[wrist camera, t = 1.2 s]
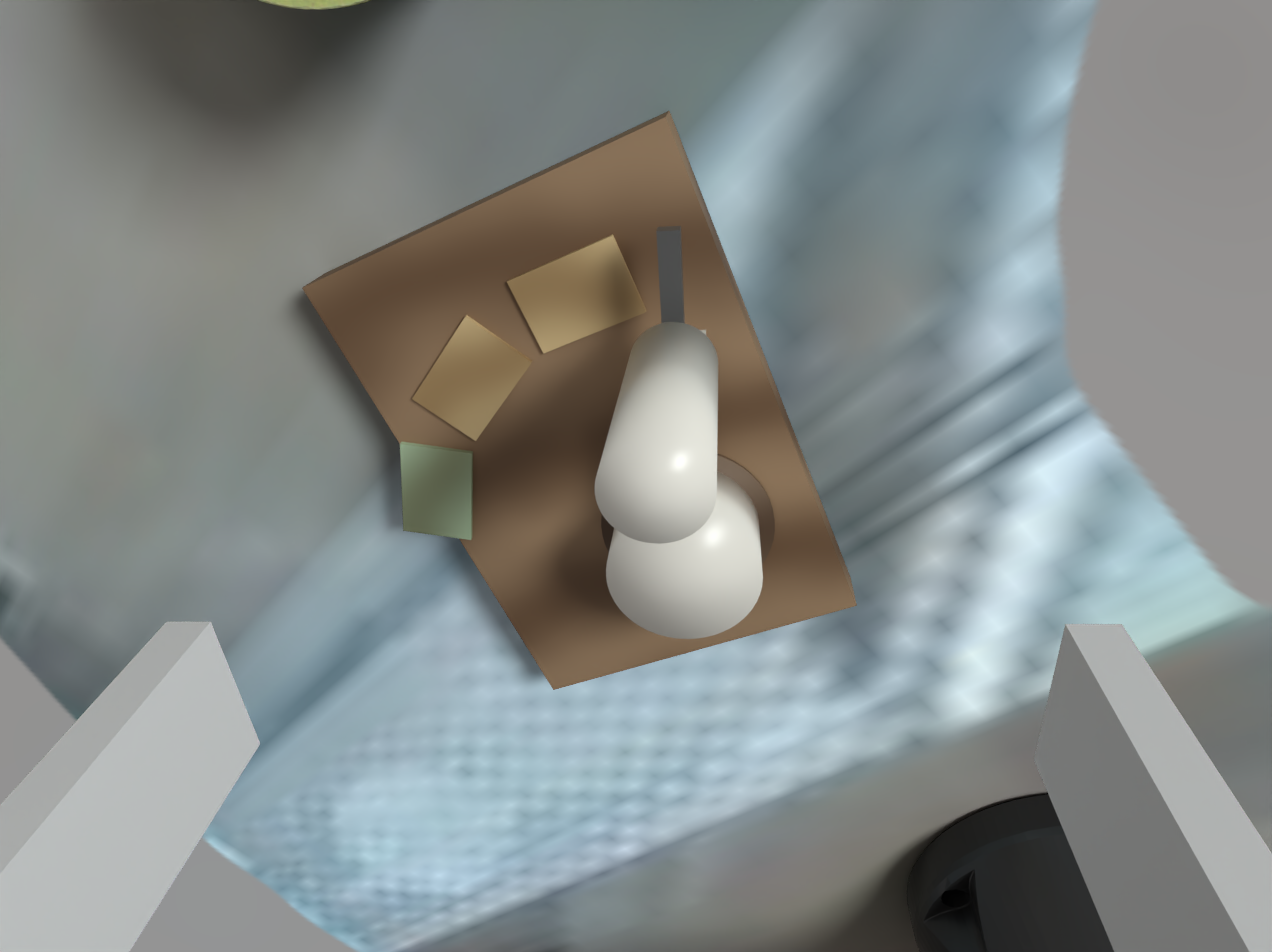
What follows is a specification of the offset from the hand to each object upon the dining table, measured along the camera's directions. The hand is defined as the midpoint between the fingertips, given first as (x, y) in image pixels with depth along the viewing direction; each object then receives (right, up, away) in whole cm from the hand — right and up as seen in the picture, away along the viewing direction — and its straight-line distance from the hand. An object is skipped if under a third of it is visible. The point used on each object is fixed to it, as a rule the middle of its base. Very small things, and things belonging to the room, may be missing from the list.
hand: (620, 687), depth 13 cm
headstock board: (-1, +5, +20) cm, 21 cm away
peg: (+2, +5, +17) cm, 18 cm away
